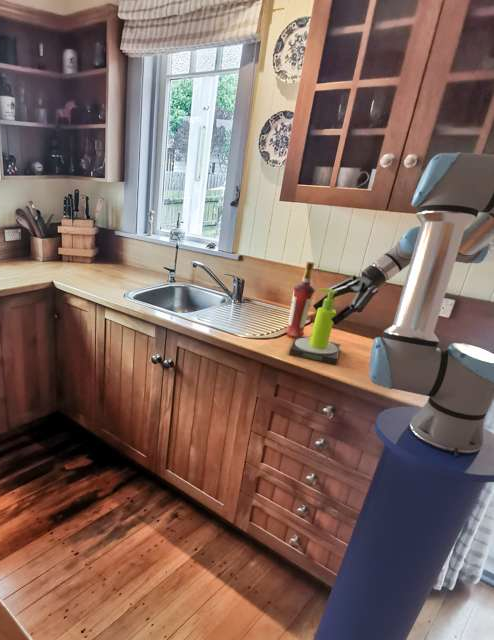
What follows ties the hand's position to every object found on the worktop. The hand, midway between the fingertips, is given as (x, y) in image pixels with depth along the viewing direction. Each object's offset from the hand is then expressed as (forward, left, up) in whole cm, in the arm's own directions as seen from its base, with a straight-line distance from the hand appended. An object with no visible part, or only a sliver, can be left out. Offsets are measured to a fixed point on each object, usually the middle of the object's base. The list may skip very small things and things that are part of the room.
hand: (323, 315), depth 158 cm
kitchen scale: (0, 0, -14) cm, 14 cm away
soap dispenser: (0, 0, -11) cm, 11 cm away
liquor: (+13, +9, -14) cm, 21 cm away
